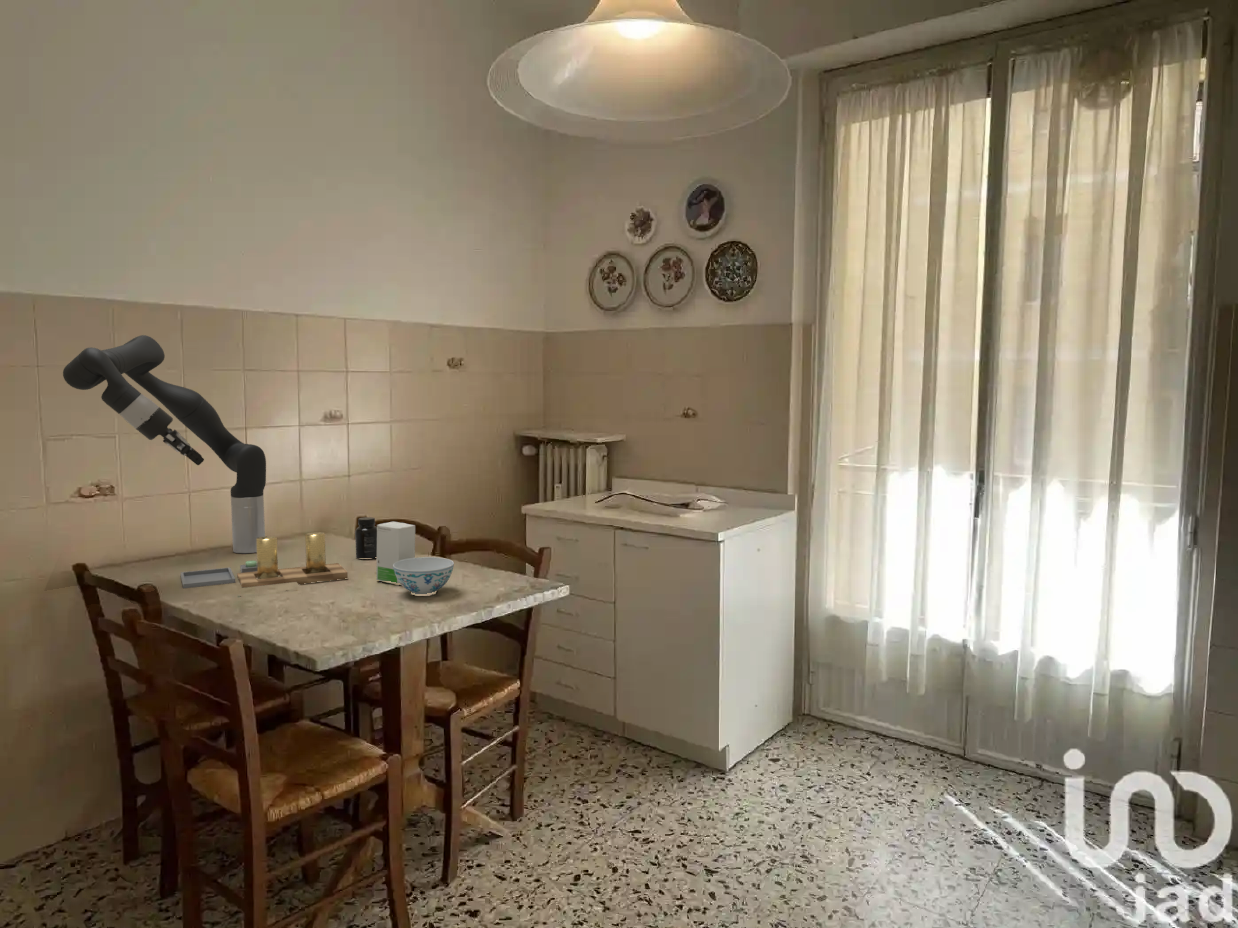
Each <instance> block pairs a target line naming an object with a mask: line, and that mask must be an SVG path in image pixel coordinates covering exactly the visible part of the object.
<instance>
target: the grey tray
mask: <svg viewBox="0 0 1238 928" xmlns="http://www.w3.org/2000/svg"><path fill="white" fill-rule="evenodd" d="M180 579H181V584H182V588H183V589H190V588H199V587H209V586H217V585H218V586H219V585H225V584H226V585H229V584H236V577H235V575H234V573H233V571H232V568H231V567H221V568H212V569H211V568H210V569H209V568H208V569H201V570H191V571H180Z"/></svg>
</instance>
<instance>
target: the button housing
mask: <svg viewBox="0 0 1238 928" xmlns="http://www.w3.org/2000/svg"><path fill="white" fill-rule="evenodd" d="M239 566H240V567H239V570H240V573H245V572H255V571H257V566H255V567H246V565H245V564H240V565H239Z"/></svg>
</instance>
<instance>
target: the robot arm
mask: <svg viewBox="0 0 1238 928" xmlns="http://www.w3.org/2000/svg"><path fill="white" fill-rule="evenodd" d="M164 360H165V352H164V350H163V348H162V346H161V345H160V343H158V341H157V340H155V339H154V337H151V336H150V335H144V334H141V335H138V336H135V337H134V338H132V339H130V340H129V341H127V342H125V343H124V344H122V345H119V346H115V347H112V348H107V349H102V350H101V349H99V348H96V347H86V348H84V349H83V350H82V351H81V352H80V353H79V354H77V355H76V356H75V357H74V358H73V359H72V360H71V361H70V362H69V363H67V364H66V365H65V367H64V368H63V371H62V376H63V380H64V381H65V382H66V384H68V386H70V387H72V388H74V389H76V390H82V391H87V390H92V389H93V388H95V387H96V386H98V385H100V384H101V383H103V382H105V381H106V383H107V386H106V388H105V389H104V391H103V392H102V394H101V397H100V398H101V401H103V402H104V403H105V404H106V405H107V406H108V407H110V408H111V409H112V410H113V411H115V412H116V413H117V414H118V415H119V416H121V417H122V418H123V420H124V421H126V422H127V423H128V424H129V425H130V426H131V427H133V428H134V429H135V430H137V432H139V433H140V434H141V435H143V437H145V438H147V440H150V441H152V440H154V439H156V438H157V437H158V436H161V437H162V438H163V440H162V443H164V444H165V445H167V446H168V447H170V448H172V449H173V450H174V451H176V452H177V453H180V455H182V456H184V457H185V458H188V459H189V460H190V461H192V462H193V464H195V465H197V466H200V465H201V464H203V462H204V461H205V458H204V457H203V456H202V455H201V454H200V452H198V451H197V450H196V449H194V448H193V447H192V446H191V445H190V443H188V441H187V439H186V438H185V437H184V436H182V435H181V433H180V432H179V431H178V430H176V429H174V430H173V429H172V428H170V427H168V426H170V424H171V423H172V422H173V421H174V419H173V417H172V416H170V415H169V413H167V412H166V411H164V410H163V409H162V408H161V406H159V405H158V404H156V403H155V402H154V401H153V400H151V399H150V398H148V397H147V396H146V395H144V394H143V393H141V392H140V391H139V390H138V389H137V388H135V387H134V386H133V385H132V384H130V383H129V382H128V380H127V379H126V378H125V377H124V376H123V374H125V375H127V377H129V379H131V380H132V381H133V382H135V383H136V384H137V385H138V386H140V387H141V388H143V389H144V390H145V391H146V392H147V393H149V394H150V395H152V397H154V398H155V399H156V400H157V401H158V402H159V403H160V404H162V406H164V407H165V408H166V409H167V410H168V412H170V413H171V414H172V415H173V416H174V417H175V418H176V419H177V420H178V421H179V422H180V423H182V425H184V426H185V428H187V429H188V430H189V431H190V432H192V433H193V434H194V435H195V436H196V437H197V438H199V440H201V441H202V442H203V443H205V444H206V445H207V446H208V447H209V449H210V450H212V452H214V453H215V454H216V456H217V457H218V458H219V460H221V461H222V463H223V464H224V465H225V466H226V467H227V468H228V469H229V470H230V471H232V472H234V473H236V482H235V484H234V485H232V486H231V488H230V507H231V531H232V552H233V553H235V554H236V553H237V554H253V553H257V543H256V539H257V538H259V537H265V536H266V530H265V529H266V527H265V526H266V524H265V501H264V497H265V496H264V490H265V486H266V484H267V483H266V482H267V458H266V454H265V452H264V450H263V449H262V448H261V447H260V446H258V445H255V444H250V443H244V442H242V441H240V439H238V438H237V437H236V436H234V435H233V434H232V433H231V432H230V431H229V430H228V429H227V428H226V427H225V425H224V423H223V421H222V420H221V418H220V415H219V413H218V412H217V411H216V409H215V408H214V407H213V405H212V404H210V403H209V402H208V401H207V400H206V398H204V397H203V396H202V395H201V393H199V392H197V391H195V390H193V389H190V388H187V387H184V386H180V385H175V384H173V383H169V382H167V381H164V380H162V379H160V378H158V377H157V376H155V375H153V374H152V373H151V372H150V371H152V370H153V369H155V368H157V367H159V366H160V365H161V364H162V363H163V362H164Z"/></svg>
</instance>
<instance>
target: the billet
mask: <svg viewBox="0 0 1238 928" xmlns="http://www.w3.org/2000/svg"><path fill="white" fill-rule="evenodd" d="M256 543H257V552H256V561H257V574H258V577H257V579H266V578H275V577H279V575H278V569H279V561H278V560H279V559H278V557H279V556H278V537H277V536H271V535H270V536H268V535H267V536H266V535H265V537H259V538H257V539H256Z"/></svg>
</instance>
